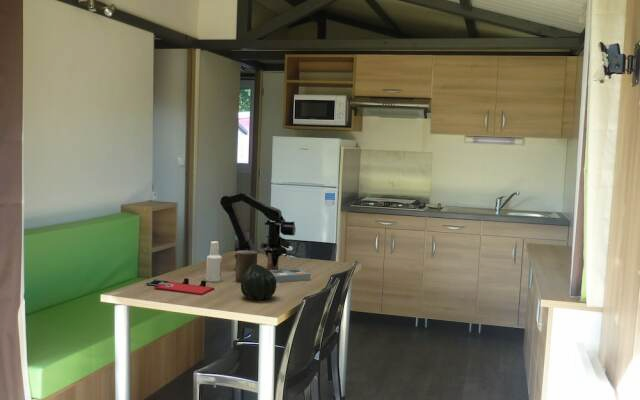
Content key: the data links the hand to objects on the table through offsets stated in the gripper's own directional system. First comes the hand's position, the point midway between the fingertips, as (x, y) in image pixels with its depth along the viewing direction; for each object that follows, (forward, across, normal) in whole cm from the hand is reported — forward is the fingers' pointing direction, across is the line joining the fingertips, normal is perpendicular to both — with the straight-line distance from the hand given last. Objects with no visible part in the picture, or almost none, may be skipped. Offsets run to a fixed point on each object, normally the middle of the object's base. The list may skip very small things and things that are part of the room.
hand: (272, 265), depth 294 cm
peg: (+4, 0, 0) cm, 4 cm away
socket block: (+4, -13, -2) cm, 14 cm away
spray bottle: (+4, -7, +33) cm, 34 cm away
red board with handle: (+5, -16, +52) cm, 54 cm away
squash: (+4, -43, +26) cm, 50 cm away
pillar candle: (+4, -12, +19) cm, 23 cm away
